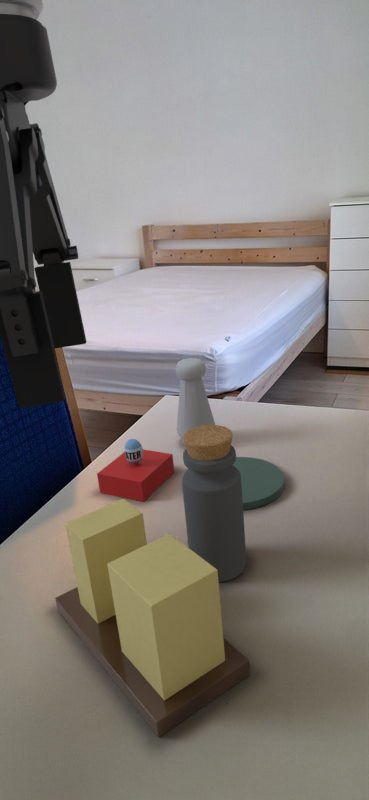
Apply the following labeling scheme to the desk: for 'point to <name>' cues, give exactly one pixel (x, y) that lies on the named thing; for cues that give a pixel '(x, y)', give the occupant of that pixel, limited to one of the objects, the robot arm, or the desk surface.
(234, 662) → the butter board
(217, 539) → the bottle
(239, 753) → the desk surface
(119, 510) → the yellow rectangular block
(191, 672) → the butter block
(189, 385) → the salt shaker
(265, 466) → the plate
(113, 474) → the red box
